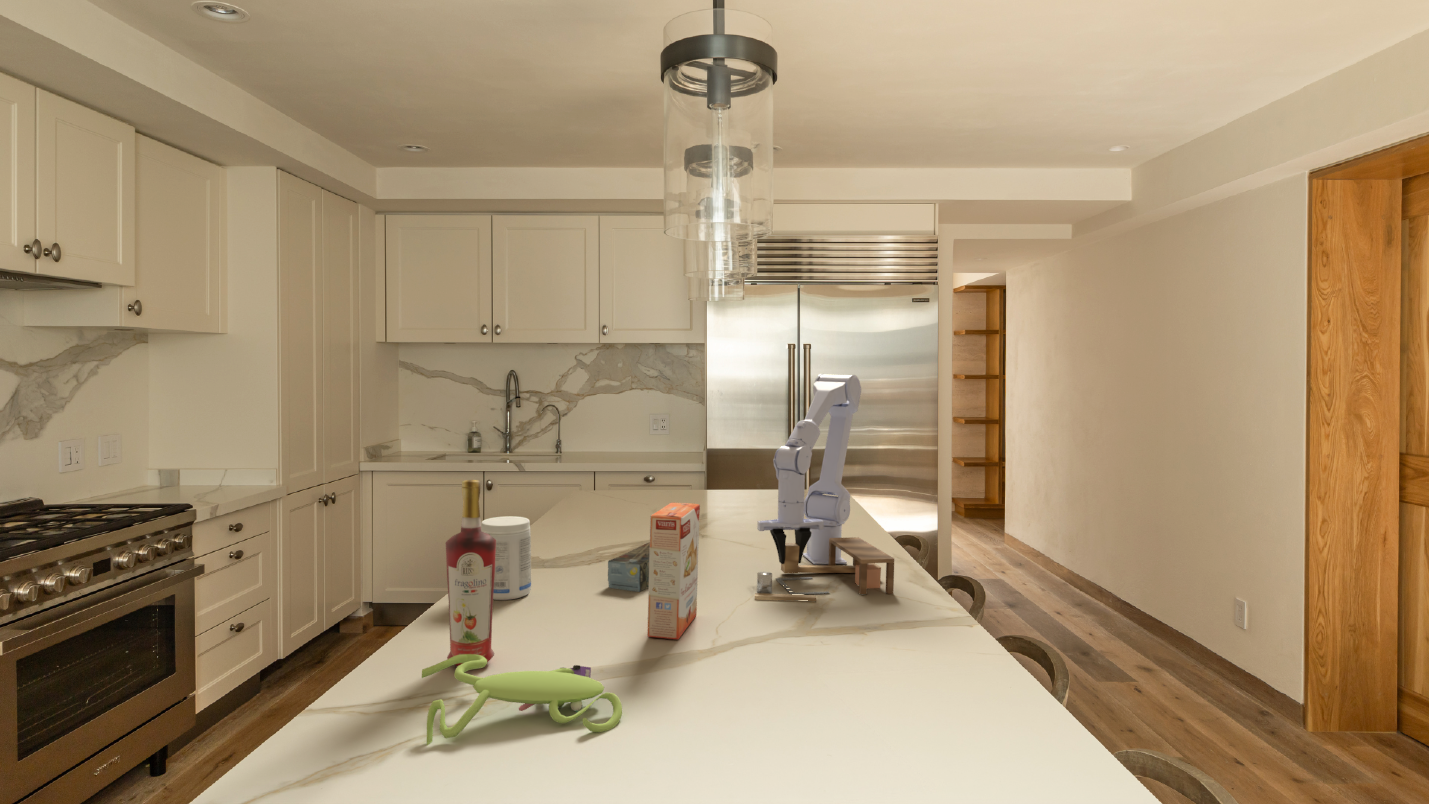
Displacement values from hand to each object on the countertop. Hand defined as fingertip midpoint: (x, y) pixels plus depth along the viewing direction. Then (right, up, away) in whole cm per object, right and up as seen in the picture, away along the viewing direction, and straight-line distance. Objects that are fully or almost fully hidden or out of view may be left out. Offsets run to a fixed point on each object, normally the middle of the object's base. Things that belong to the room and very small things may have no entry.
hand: (789, 562), depth 179 cm
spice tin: (-6, -3, -14) cm, 16 cm away
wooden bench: (+14, -3, -4) cm, 15 cm away
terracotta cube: (+16, -4, -7) cm, 18 cm away
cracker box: (-24, -4, -36) cm, 43 cm away
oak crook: (+9, -3, -1) cm, 9 cm away
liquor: (-54, -5, -55) cm, 77 cm away
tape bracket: (+2, -3, -9) cm, 10 cm away
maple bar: (-3, -4, -18) cm, 19 cm away
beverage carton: (-31, -3, -5) cm, 32 cm away
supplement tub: (-58, -3, -18) cm, 61 cm away
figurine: (-43, -6, -71) cm, 83 cm away
